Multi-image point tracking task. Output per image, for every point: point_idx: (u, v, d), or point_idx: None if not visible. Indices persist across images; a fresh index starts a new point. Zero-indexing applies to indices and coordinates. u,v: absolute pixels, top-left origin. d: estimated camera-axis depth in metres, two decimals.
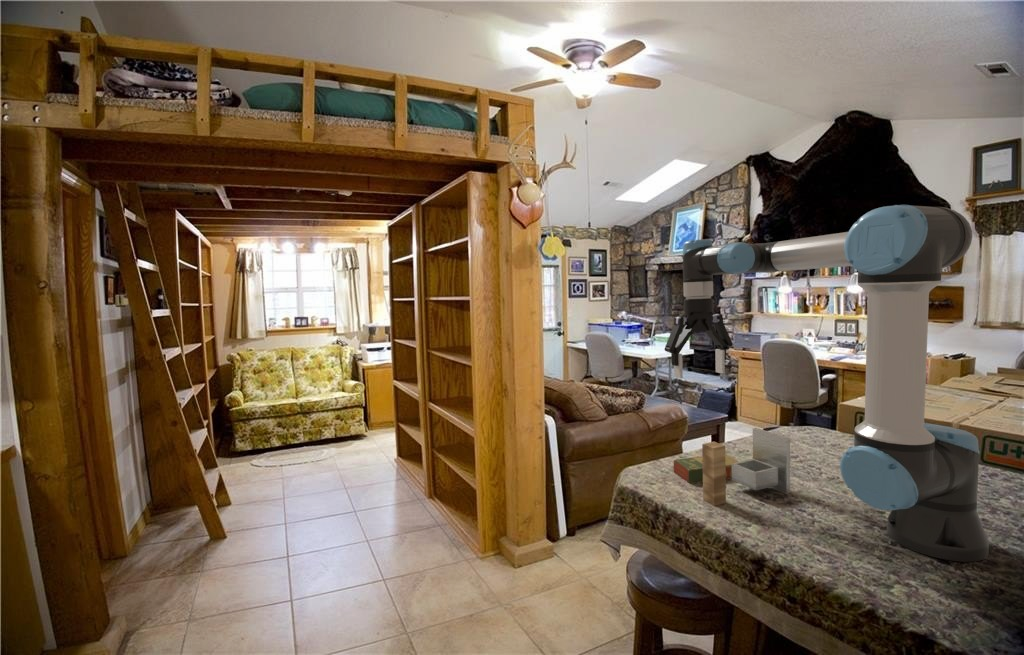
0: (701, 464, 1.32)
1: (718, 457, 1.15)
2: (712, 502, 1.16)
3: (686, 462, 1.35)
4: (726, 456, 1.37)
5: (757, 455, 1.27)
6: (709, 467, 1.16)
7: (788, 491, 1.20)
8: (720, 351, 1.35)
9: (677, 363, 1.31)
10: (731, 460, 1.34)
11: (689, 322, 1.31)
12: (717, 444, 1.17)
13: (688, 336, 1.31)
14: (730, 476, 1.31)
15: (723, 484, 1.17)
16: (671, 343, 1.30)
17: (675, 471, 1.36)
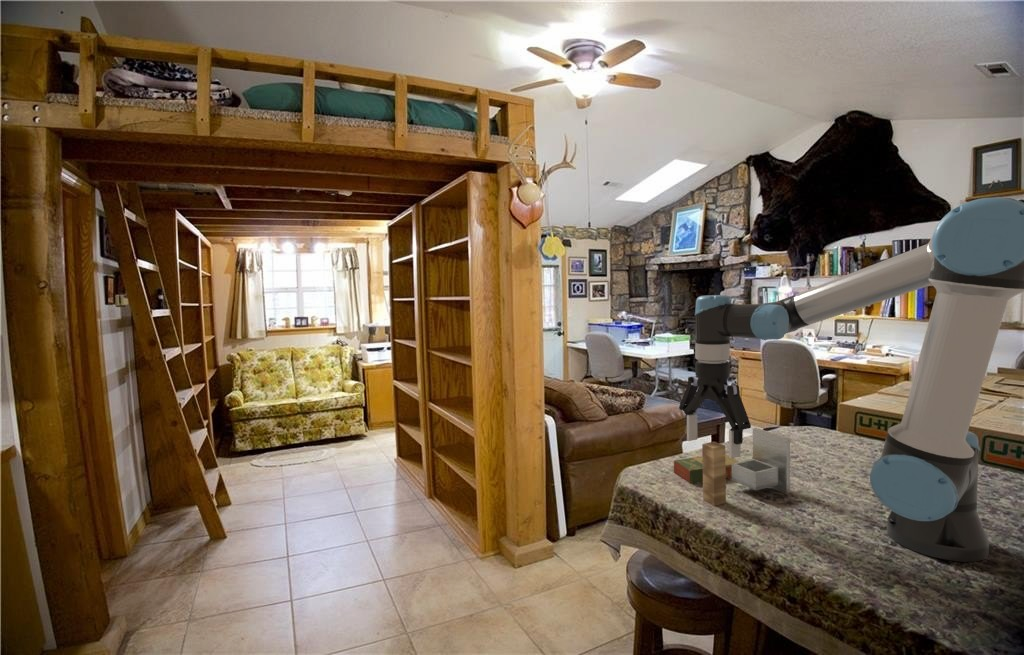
0: (701, 464, 1.32)
1: (718, 457, 1.15)
2: (712, 502, 1.16)
3: (686, 462, 1.34)
4: (725, 456, 1.37)
5: (757, 455, 1.27)
6: (709, 467, 1.16)
7: (788, 491, 1.20)
8: None
9: None
10: (730, 460, 1.34)
11: (698, 385, 1.19)
12: (717, 444, 1.17)
13: (695, 399, 1.20)
14: (730, 476, 1.31)
15: (723, 484, 1.17)
16: None
17: (675, 472, 1.36)
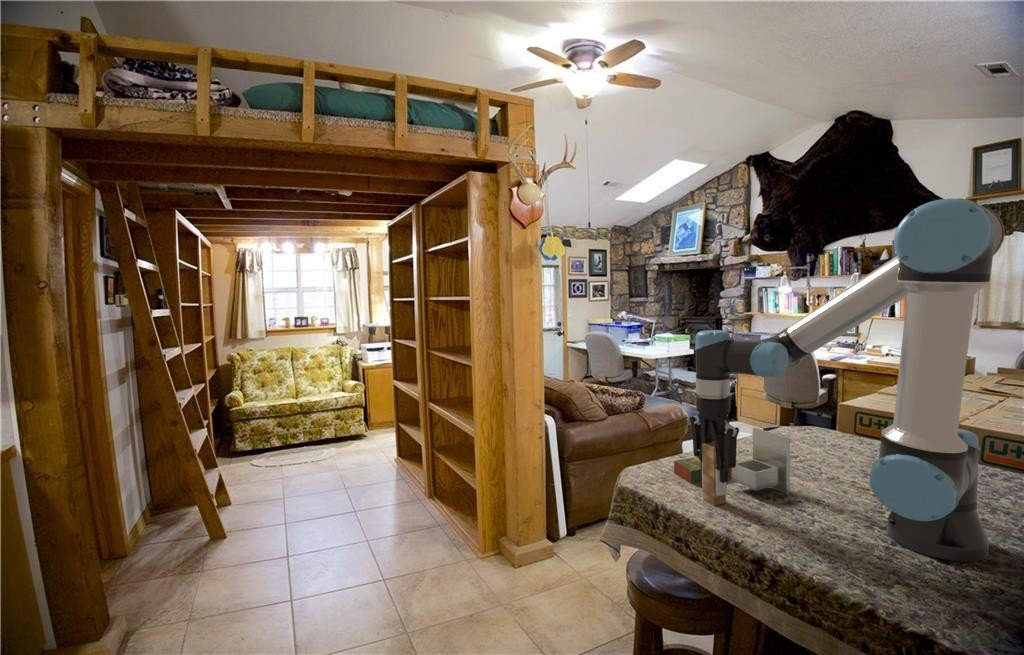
0: None
1: None
2: (712, 502, 1.16)
3: (686, 462, 1.34)
4: None
5: (757, 455, 1.27)
6: (709, 466, 1.16)
7: (788, 491, 1.20)
8: None
9: None
10: None
11: (700, 420, 1.19)
12: None
13: (703, 439, 1.18)
14: (730, 475, 1.32)
15: None
16: None
17: (676, 472, 1.36)
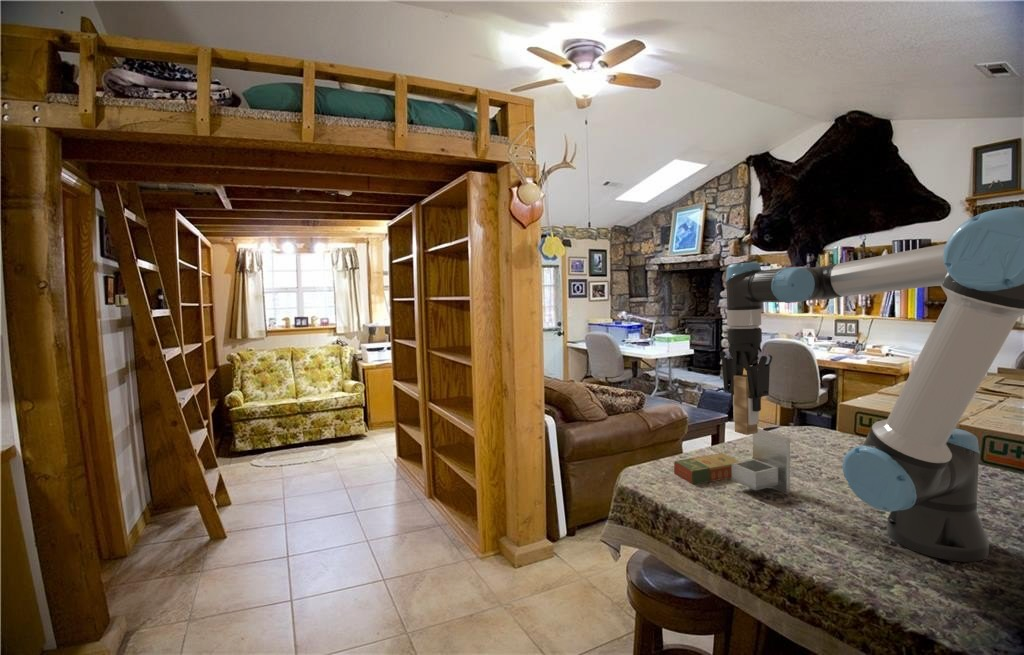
0: (702, 464, 1.32)
1: None
2: (745, 432, 1.18)
3: (687, 463, 1.34)
4: (724, 455, 1.38)
5: (757, 455, 1.27)
6: (741, 397, 1.18)
7: (788, 491, 1.20)
8: None
9: None
10: (730, 459, 1.34)
11: (731, 353, 1.21)
12: None
13: (734, 372, 1.20)
14: (731, 475, 1.32)
15: None
16: None
17: (676, 472, 1.35)
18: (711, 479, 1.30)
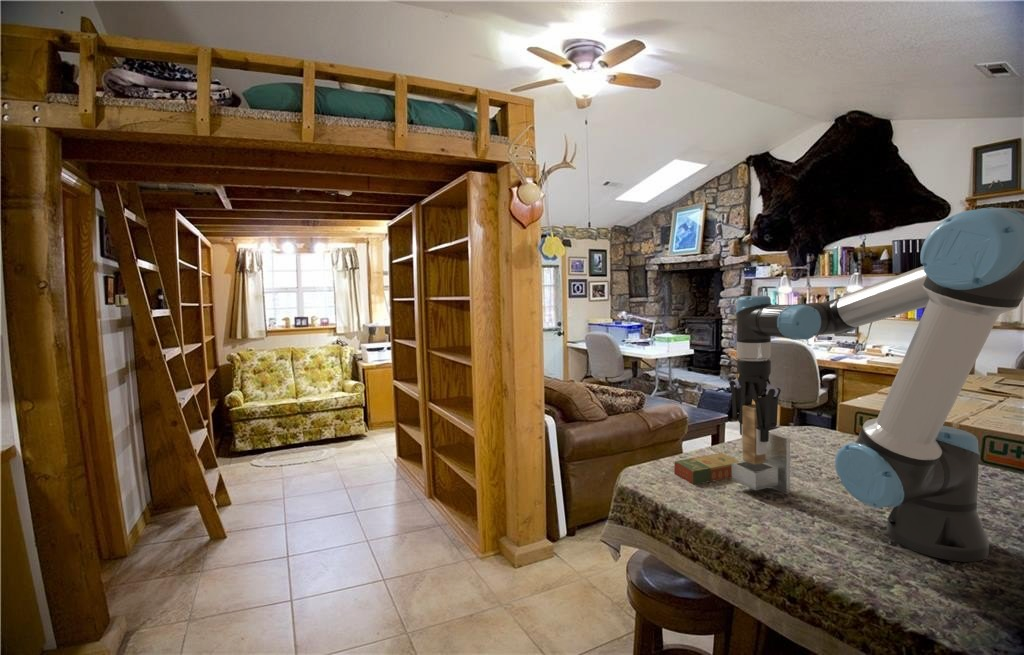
0: (703, 464, 1.32)
1: None
2: (752, 461, 1.21)
3: (687, 463, 1.34)
4: (724, 455, 1.38)
5: None
6: (750, 427, 1.21)
7: (788, 491, 1.20)
8: None
9: None
10: (730, 459, 1.34)
11: (740, 383, 1.23)
12: None
13: (743, 402, 1.23)
14: (731, 475, 1.32)
15: None
16: None
17: (676, 473, 1.35)
18: (712, 479, 1.30)
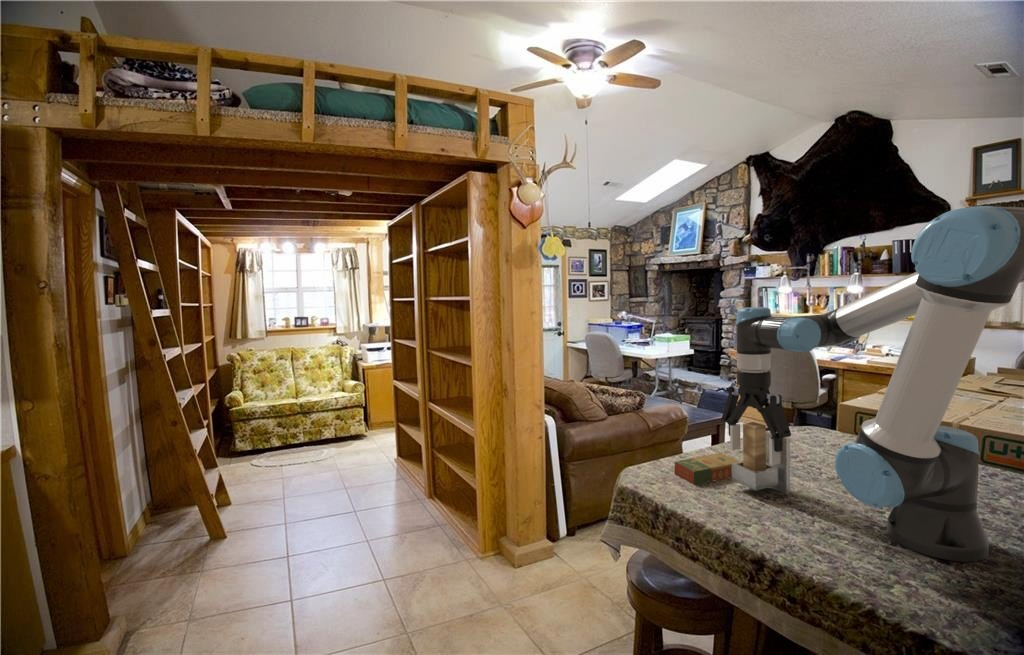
0: (703, 465, 1.32)
1: (759, 436, 1.20)
2: None
3: (687, 463, 1.34)
4: (723, 455, 1.38)
5: None
6: (750, 445, 1.21)
7: (788, 491, 1.20)
8: None
9: None
10: (730, 459, 1.35)
11: (739, 393, 1.24)
12: (757, 424, 1.22)
13: (738, 408, 1.24)
14: (731, 475, 1.32)
15: (763, 462, 1.21)
16: None
17: (676, 473, 1.35)
18: (712, 479, 1.30)
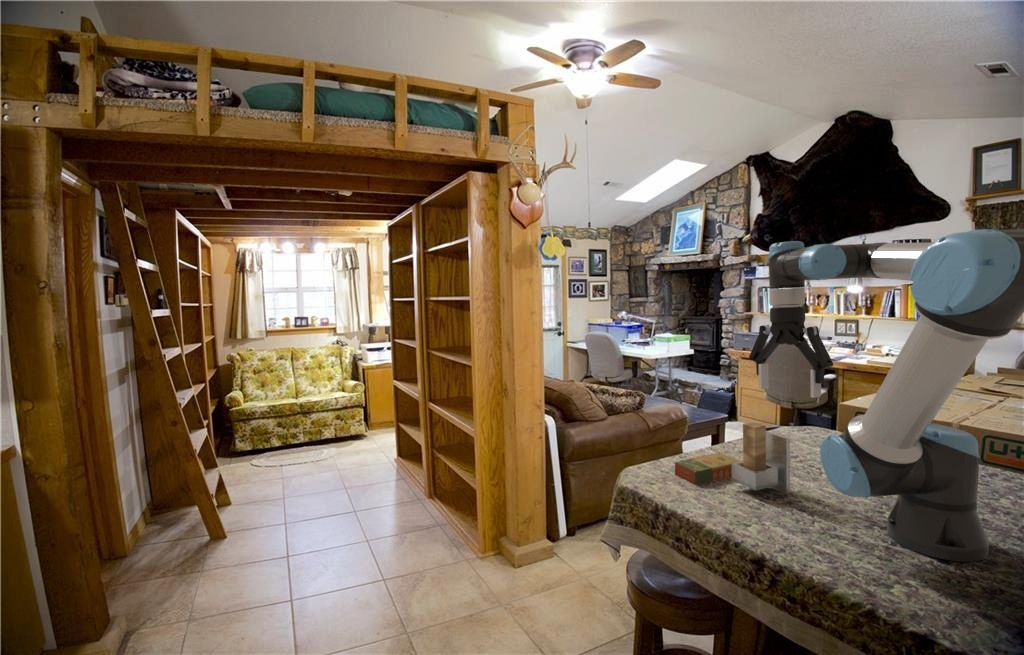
0: (704, 465, 1.32)
1: (759, 436, 1.20)
2: None
3: (688, 463, 1.33)
4: (722, 455, 1.38)
5: None
6: (750, 445, 1.21)
7: (788, 491, 1.20)
8: None
9: None
10: (729, 459, 1.35)
11: (771, 332, 1.22)
12: (757, 424, 1.22)
13: (768, 347, 1.23)
14: (731, 475, 1.32)
15: (763, 462, 1.21)
16: None
17: (677, 474, 1.34)
18: (713, 479, 1.30)
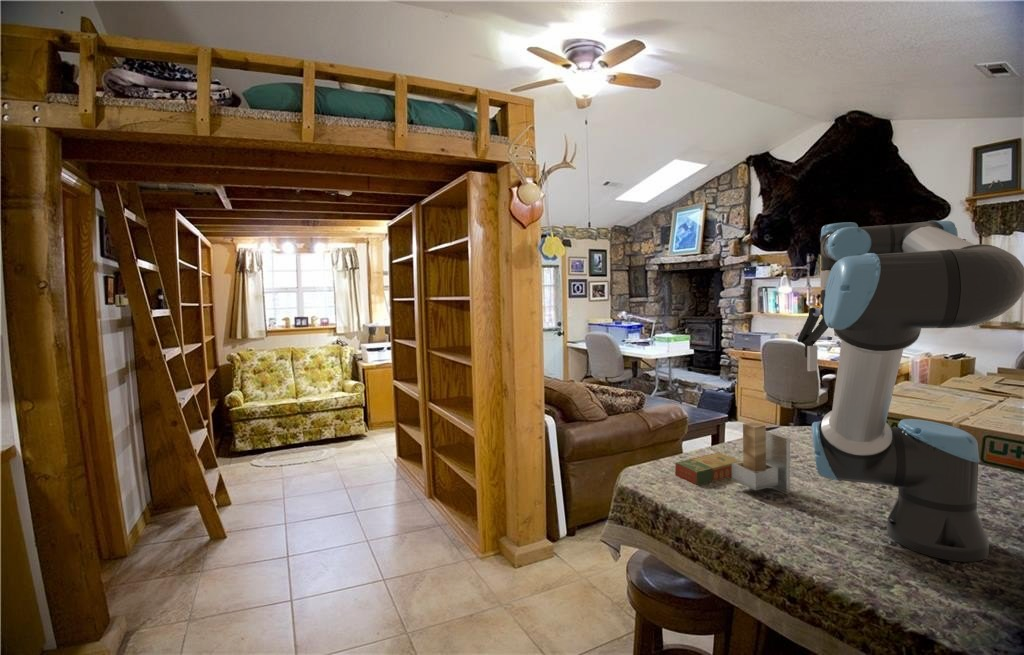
0: (704, 465, 1.32)
1: (759, 436, 1.20)
2: None
3: (688, 464, 1.33)
4: (722, 455, 1.38)
5: None
6: (750, 445, 1.21)
7: (788, 491, 1.20)
8: None
9: None
10: (729, 458, 1.35)
11: (821, 314, 1.22)
12: (757, 424, 1.22)
13: (818, 329, 1.23)
14: (731, 474, 1.32)
15: (763, 462, 1.21)
16: None
17: (678, 474, 1.34)
18: (714, 479, 1.30)
